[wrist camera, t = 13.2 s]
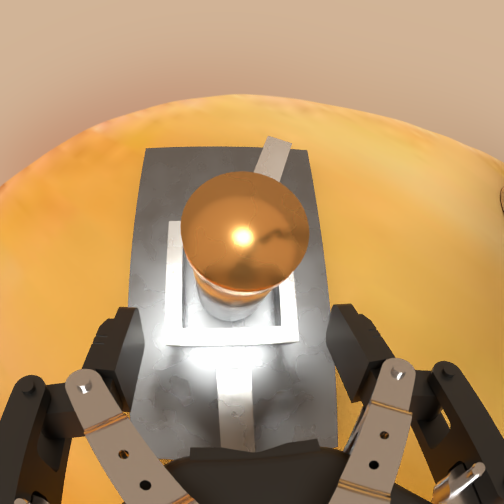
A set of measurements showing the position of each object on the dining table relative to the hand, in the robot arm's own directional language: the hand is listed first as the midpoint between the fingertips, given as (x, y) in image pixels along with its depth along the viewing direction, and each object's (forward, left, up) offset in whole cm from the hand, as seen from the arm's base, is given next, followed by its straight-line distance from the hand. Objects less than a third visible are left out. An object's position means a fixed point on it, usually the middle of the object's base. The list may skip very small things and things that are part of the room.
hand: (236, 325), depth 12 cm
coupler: (-1, -3, -8) cm, 8 cm away
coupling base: (-1, -3, -9) cm, 10 cm away
